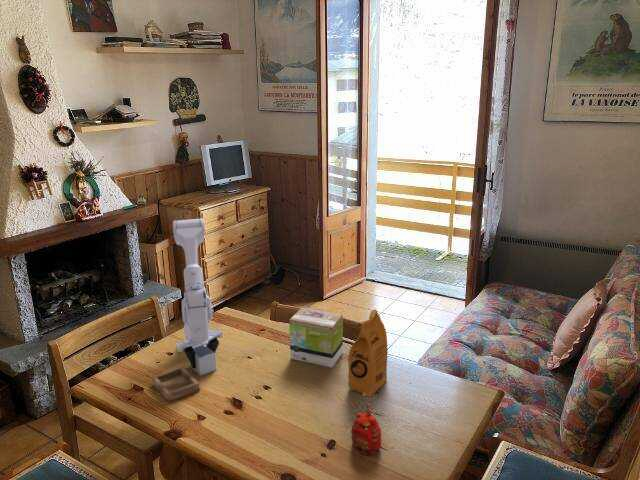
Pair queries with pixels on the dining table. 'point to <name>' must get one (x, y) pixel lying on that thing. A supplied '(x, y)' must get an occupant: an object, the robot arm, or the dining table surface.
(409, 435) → the dining table surface
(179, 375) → the shallow brown tray
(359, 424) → the red clay folk toy
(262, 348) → the dining table surface
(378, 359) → the coffee package
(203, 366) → the small crate
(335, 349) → the tea box
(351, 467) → the dining table surface
